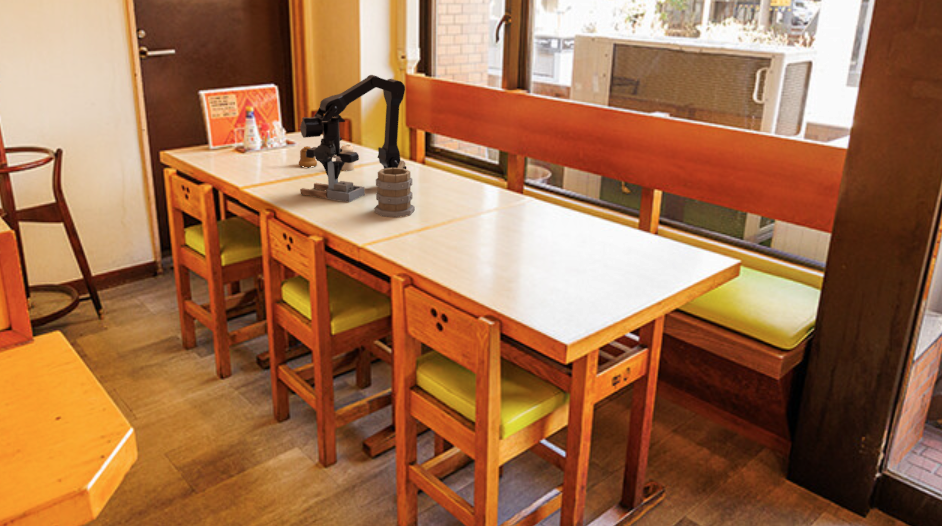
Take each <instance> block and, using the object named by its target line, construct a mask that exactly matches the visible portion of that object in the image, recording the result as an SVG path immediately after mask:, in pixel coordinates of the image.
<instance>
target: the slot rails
mask: <svg viewBox="0 0 942 526" xmlns="http://www.w3.org/2000/svg"><path fill="white" fill-rule="evenodd" d="M318 189H321V190H318ZM326 189H328V183H327V184H326V183H320V182H314V183H313V189H311V188H305V187H302V188H300V195H301V194H303V195H302V196H307V195H310V196H309V197H313V196H316V197H315V198H320V197H321V199H327V192H326V191H324V190H326Z"/></svg>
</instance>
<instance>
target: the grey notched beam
mask: <svg viewBox="0 0 942 526" xmlns="http://www.w3.org/2000/svg"><path fill="white" fill-rule="evenodd" d="M334 161H335V160H332V161H330V162H328V176H327V184H328V189H326V191H325V192H327V191H328V190H332V191H334V184H335V183H338V182H339V178H338V179H335V166H334V164H333V162H334Z"/></svg>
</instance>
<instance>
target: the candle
mask: <svg viewBox="0 0 942 526" xmlns="http://www.w3.org/2000/svg"><path fill="white" fill-rule="evenodd" d="M340 149H342V152H340V153H345V152H348V151H350V152H355V151H354V148H353V146H352V145H351V144H343V145H342V146H340ZM344 170H345V171H346V170H347V171H346V172H348V171H354V170H355V162H352V163H344V165H343V167H342V169H341V171H344Z"/></svg>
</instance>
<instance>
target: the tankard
mask: <svg viewBox="0 0 942 526" xmlns="http://www.w3.org/2000/svg"><path fill="white" fill-rule="evenodd" d="M405 166H406V162H405V161H404V160H400V163H399V165H398V167H397V168H386V169H384V168H381V169H380V170H378V172H377V178H376V179H375V186H376V187H377V192H376V193H375V196H376V197H375V200H376V201H377V202H378V204H377V205H376V206H375V207H374V208H373V209H374V210H373V211H374V212H375V214H378V215H379V216H381V217H386V216H387V217H386V218H401V217H400V216H402V217H407V216H406V215H408V216H411V215H412V214H413V213H414V212H415V209H416V208H415V207H416V206H415V205H413V204H411V201H412V200H413V192H412V191H411V190H412V189H411V186H413V178H412V177H411V170H409V169H407V168H406V169H404V168H403V167H405Z"/></svg>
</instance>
